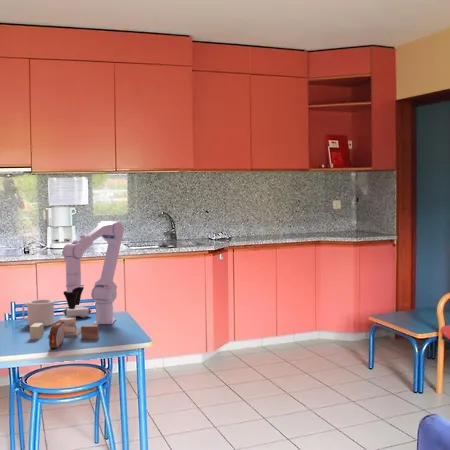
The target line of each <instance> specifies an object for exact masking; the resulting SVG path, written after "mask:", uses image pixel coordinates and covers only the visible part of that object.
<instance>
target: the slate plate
mask: <svg viewBox="0 0 450 450" xmlns="http://www.w3.org/2000/svg"><path fill="white" fill-rule="evenodd" d="M49 335H50V333H49V334H48V338H49ZM79 335H81V326H76V331H75V332H64V338H77V337H79Z"/></svg>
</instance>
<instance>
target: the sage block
mask: <svg viewBox="0 0 450 450" xmlns="http://www.w3.org/2000/svg"><path fill="white" fill-rule="evenodd" d="M44 327H45V326H43V323H34V324H33V325H31V326H29V340H40V339H41V338H42V337H44V336H43V335H45V331H44V330H45V328H44Z"/></svg>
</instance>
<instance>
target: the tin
mask: <svg viewBox="0 0 450 450" xmlns="http://www.w3.org/2000/svg"><path fill="white" fill-rule="evenodd" d="M49 334H50V335H49ZM49 334H48V335H49V337H48V345H49V348H50V349H58V348H59V347H60V346H61V344H62V343H63V341H64V339H65V337H64V322H62V321H59V320H56V321H54V323H53V324H52V325H51V327H50V331H49Z"/></svg>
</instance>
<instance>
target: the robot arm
mask: <svg viewBox="0 0 450 450" xmlns="http://www.w3.org/2000/svg"><path fill="white" fill-rule="evenodd" d="M124 231H125V228H124V225H123V224H122V223H121V221H118V220H117V221H107V220H106V221H105V220H101V221H99V222H98V223H97V224H96V227H95V228H94V229H92V230H91V231H90V232H89V233H88V234H86V233H85V234H80V235H79V237H78V238H77V239H75V240H73V241H72V242H71V243H67V244H65V245H64V247H63V249H62V251H61V253H62V256H63V257H64V258H63V259H64V262H65V277H66V278H65V281H66V282H65V288H66V290H64V291H63V295H64V297H65V299H66V301H67V305H68V307H67V308H69V309H75V306H80V302H81V296H82V294H83V291H84V289H85V288H84V286H85V284H84V283H82V275H81V274H82V271H81V270H82V269H81V265H82V264H81V258H83V256H84V253H85V251H86V250H88V249H90V247H92V246H93V243H94V241H96V240H97V239H99V238H101V237H102V239H103V240H104V241H105V242H106V243H107V248H106V252H105V257H104V261H103V266H102V270H101V274H100V279H98V280H97V281H96V282H95V283H94V285H93V288H92V289H91V292H90V293H91V298H92V300H94V301H93V303H95V321H94V322H93V324H98V325H113V323H114V322H115V321H116V318H114V304H113V303H114V302H115V300H116V299H117V295H118V293H117V288H118V285H117V284H116V283H115V282H114V277H115V273H116V267H117V263H118V258H119V254H120V250H121V244H122V241H123V237H124V233H125V232H124Z"/></svg>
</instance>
